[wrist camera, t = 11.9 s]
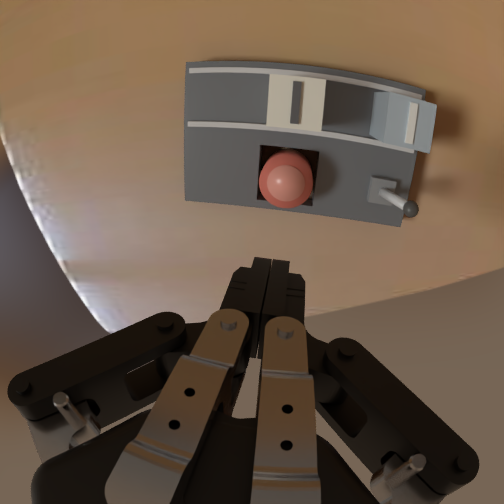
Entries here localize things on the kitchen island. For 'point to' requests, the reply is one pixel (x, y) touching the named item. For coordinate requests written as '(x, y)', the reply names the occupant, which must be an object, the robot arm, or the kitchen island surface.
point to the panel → (293, 141)
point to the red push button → (286, 179)
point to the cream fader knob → (295, 102)
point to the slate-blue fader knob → (403, 121)
